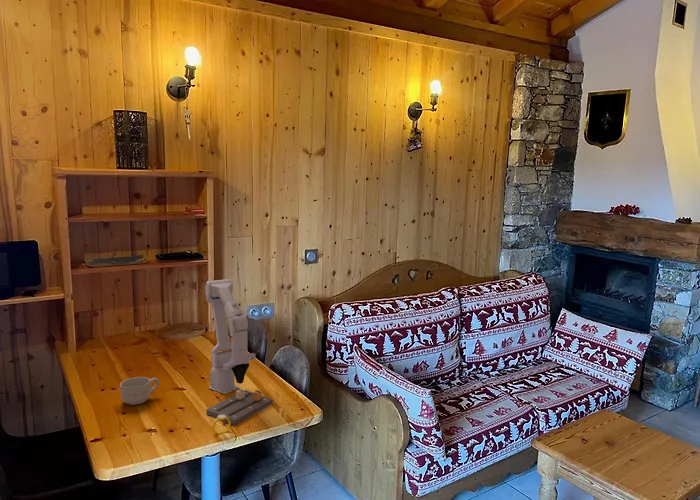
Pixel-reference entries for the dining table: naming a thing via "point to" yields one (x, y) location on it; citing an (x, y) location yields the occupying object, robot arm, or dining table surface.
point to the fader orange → (257, 395)
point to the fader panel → (239, 407)
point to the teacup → (137, 389)
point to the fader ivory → (239, 394)
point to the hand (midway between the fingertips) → (239, 382)
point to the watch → (220, 417)
